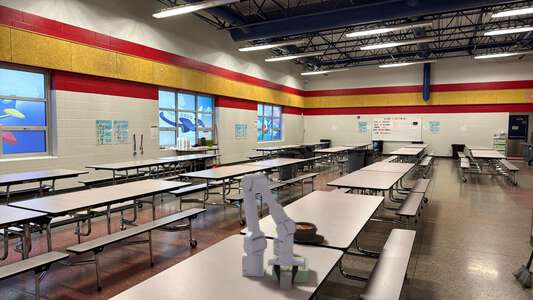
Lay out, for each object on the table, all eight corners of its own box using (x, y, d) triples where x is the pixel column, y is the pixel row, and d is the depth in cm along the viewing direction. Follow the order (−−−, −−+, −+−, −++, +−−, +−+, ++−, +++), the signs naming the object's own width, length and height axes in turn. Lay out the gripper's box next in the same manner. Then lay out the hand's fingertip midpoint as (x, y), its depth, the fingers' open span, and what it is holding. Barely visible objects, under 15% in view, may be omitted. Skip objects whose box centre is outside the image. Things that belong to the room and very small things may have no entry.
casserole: (328, 237, 190) (328, 223, 189) (318, 248, 173) (319, 232, 173) (288, 232, 201) (288, 218, 200) (276, 241, 184) (276, 226, 184)
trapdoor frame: (272, 280, 136) (272, 267, 135) (274, 266, 150) (274, 254, 149) (308, 282, 134) (308, 269, 134) (307, 268, 148) (307, 256, 148)
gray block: (280, 289, 129) (280, 277, 128) (280, 283, 133) (280, 272, 133) (291, 289, 128) (291, 277, 128) (291, 284, 133) (291, 272, 132)
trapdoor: (275, 273, 137) (275, 267, 137) (277, 263, 148) (277, 257, 148) (304, 275, 136) (304, 269, 135) (304, 264, 146) (304, 258, 146)
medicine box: (282, 249, 171) (282, 233, 170) (289, 251, 168) (289, 235, 167) (273, 254, 165) (273, 237, 164) (280, 256, 162) (280, 239, 161)
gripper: (267, 253, 126) (267, 287, 127) (304, 254, 125) (304, 289, 126) (268, 246, 133) (268, 278, 134) (304, 248, 132) (304, 280, 133)
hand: (285, 283), depth 130 cm, fingers closed on gray block, 4 cm apart
